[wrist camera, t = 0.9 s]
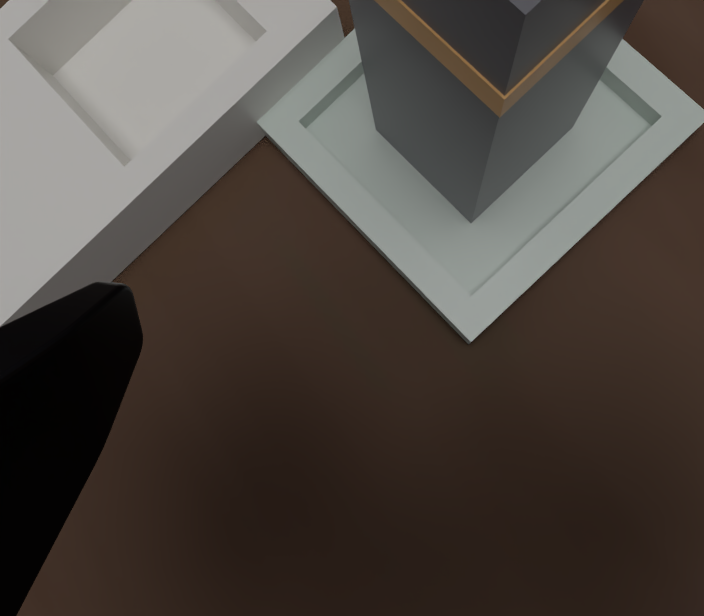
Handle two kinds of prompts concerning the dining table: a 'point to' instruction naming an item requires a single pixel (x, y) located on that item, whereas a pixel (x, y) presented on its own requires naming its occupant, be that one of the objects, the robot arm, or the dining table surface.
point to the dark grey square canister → (482, 82)
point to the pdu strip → (130, 123)
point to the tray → (504, 213)
